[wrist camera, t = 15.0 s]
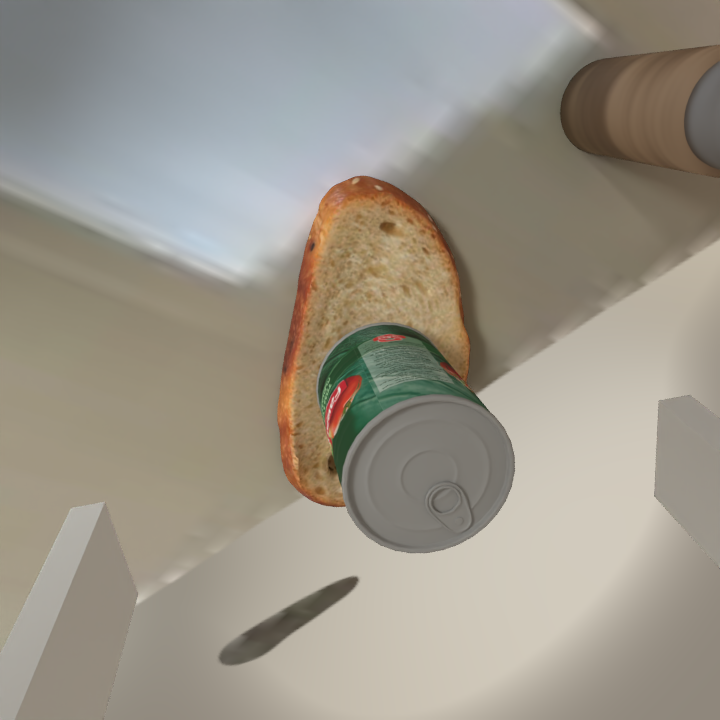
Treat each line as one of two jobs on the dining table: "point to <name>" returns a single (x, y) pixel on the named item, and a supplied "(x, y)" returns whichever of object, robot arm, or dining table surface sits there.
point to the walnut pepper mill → (649, 109)
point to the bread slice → (361, 308)
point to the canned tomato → (410, 440)
